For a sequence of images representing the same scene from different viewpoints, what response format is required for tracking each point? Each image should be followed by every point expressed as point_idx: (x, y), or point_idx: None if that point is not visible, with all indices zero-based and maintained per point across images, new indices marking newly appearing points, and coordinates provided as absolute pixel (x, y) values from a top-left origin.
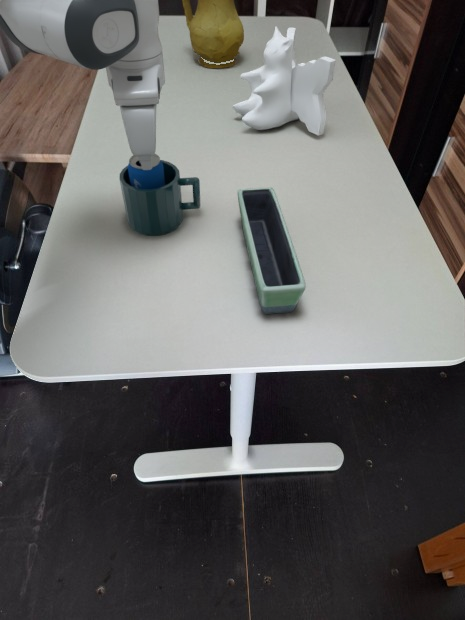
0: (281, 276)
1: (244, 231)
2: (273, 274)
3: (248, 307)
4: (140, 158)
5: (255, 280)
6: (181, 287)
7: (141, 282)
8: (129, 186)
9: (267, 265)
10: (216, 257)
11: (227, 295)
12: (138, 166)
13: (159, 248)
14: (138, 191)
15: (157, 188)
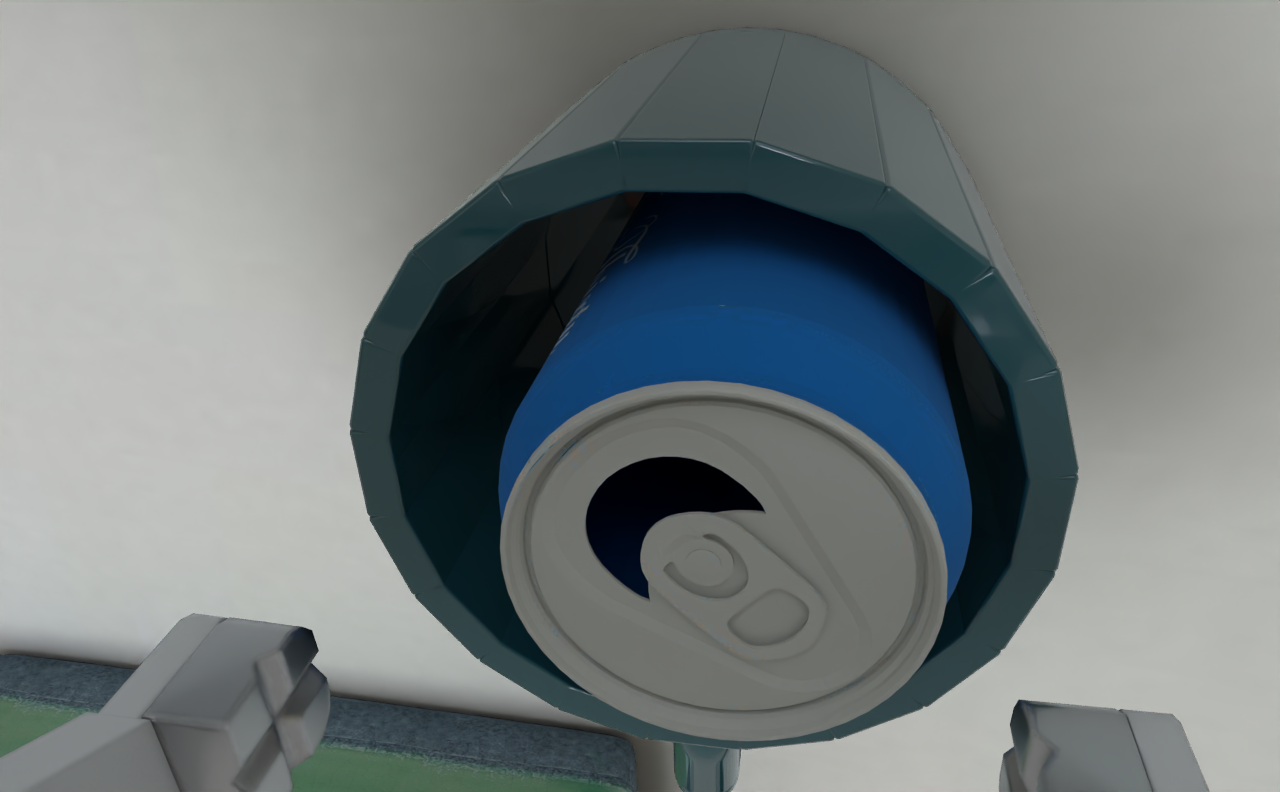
0: None
1: (385, 777)
2: None
3: (26, 611)
4: (10, 764)
5: (71, 710)
6: (75, 361)
7: (60, 135)
8: (434, 268)
9: None
10: (333, 562)
11: (74, 552)
12: (583, 486)
13: (392, 268)
14: (359, 356)
15: (410, 538)
